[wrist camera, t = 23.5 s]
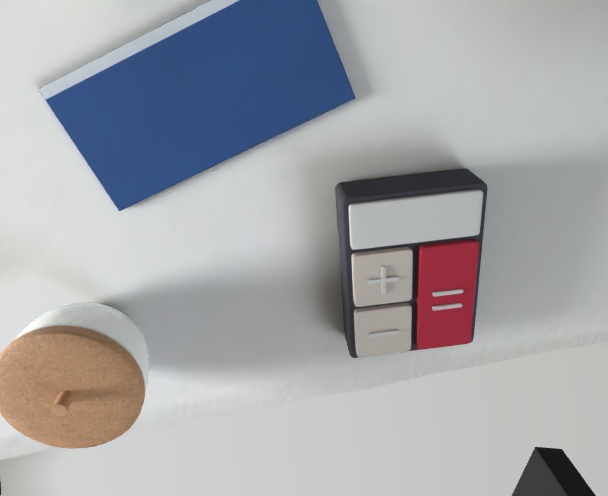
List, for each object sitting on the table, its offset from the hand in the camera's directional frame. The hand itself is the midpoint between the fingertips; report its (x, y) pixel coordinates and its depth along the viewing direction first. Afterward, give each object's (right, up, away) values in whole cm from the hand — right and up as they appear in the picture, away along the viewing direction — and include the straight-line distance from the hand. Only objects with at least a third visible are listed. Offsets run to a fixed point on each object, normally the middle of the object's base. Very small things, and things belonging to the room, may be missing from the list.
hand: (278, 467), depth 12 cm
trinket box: (-17, -2, +31) cm, 36 cm away
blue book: (-7, +17, +23) cm, 30 cm away
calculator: (+9, +5, +31) cm, 32 cm away
